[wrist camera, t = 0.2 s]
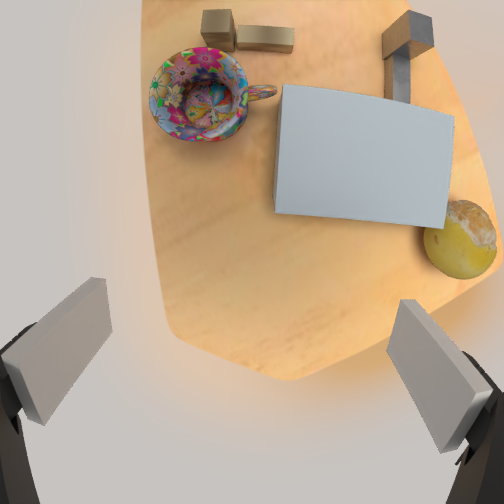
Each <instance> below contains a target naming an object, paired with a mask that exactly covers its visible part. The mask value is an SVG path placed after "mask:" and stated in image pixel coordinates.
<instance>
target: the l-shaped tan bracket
mask: <svg viewBox="0 0 504 504" xmlns="http://www.w3.org/2000/svg"><path fill="white" fill-rule="evenodd" d="M200 33H201V35H202V37H203V38H204V40H205V42H206V44H207V46H208V48H214V49H217V50H220V51H223V52H234V51H235V39H236V29H235V25H234V20H233V16H232V11H231V9H222V10H203V15H202V23H201V32H200ZM293 43H294V28H285V27H272V26H252V25H238V34H237V45H238V50H254V51H272V52H285V53H291V52H292V49H293Z"/></svg>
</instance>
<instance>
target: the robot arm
mask: <svg viewBox="0 0 504 504" xmlns="http://www.w3.org/2000/svg"><path fill="white" fill-rule="evenodd" d="M111 333H112V326H111V319H110V311H109V304H108V296H107V287H106V279H101V278H94V277H91V278H90V279H89V280H87V281H86V282H85V283H84V284H82V285H81V286H80V287H79V288H78V289H76V290H75V291H74V292H73V293H71V294H70V295H69V296H68V297H66V298H65V299H64V300H63V301H62V302H61V303H59V304H58V305H57V306H56V307H55V308H53V309H52V310H51V311H50V312H49V313H48V314H46V315H45V316H44V317H43V318H42V319H41V320H39V321H38V322H36V323H34V324H32V325H29V326H27V327H26V328H24V329H23V330H22V331H21V332H20V333H19V334H18V336H15V337H14V338H13V339H12V341H10V342H9V343H7V344H6V345H5V346H4V347H3V348H2V349H1V350H0V504H40V502H39V498H38V495H37V492H36V488H35V485H34V481H33V477H32V474H31V469H30V466H29V461H28V457H27V452H26V447H25V442H24V437H23V431H22V425H21V420H20V418H19V415H18V412H19V411H20V409H21V408H23V410H24V412H25V414H26V416H27V418H28V419H29V420H31V421H34V422H36V423H39V424H41V425H43V426H45V424H46V423H47V421H48V420H49V418H50V417H51V415H52V414H53V413H54V411H55V410H56V408H57V407H58V405H59V404H60V403H61V401H62V400H63V398H64V397H65V395H66V394H67V392H68V391H69V390H70V388H71V387H72V386H73V384H74V383H75V381H76V380H77V379H78V377H79V376H80V375H81V373H82V372H83V370H84V369H85V368H86V366H87V365H88V364H89V362H90V361H91V360H92V358H93V357H94V356H95V354H96V353H97V352H98V350H99V349H100V348H101V346H102V345H103V344H104V342H105V341H106V340H107V338H108V337H109V336H110V334H111ZM387 353H388V355H389V356H390V358H391V360H392V362H393V364H394V365H395V367H396V369H397V371H398V373H399V374H400V376H401V378H402V380H403V382H404V384H405V386H406V387H407V389H408V391H409V393H410V395H411V397H412V399H413V401H414V402H415V404H416V406H417V408H418V410H419V412H420V414H421V416H422V418H423V420H424V422H425V423H426V426H427V428H428V430H429V431H430V434H431V436H432V438H433V440H434V442H435V444H436V446H437V448H438V450H439V452H440V453H445V452H448V451H452V450H456V449H458V447H459V446H460V444H461V443H462V441H463V440H464V438H466V440H467V441H468V443H469V445H468V446H467V448H466V449H465V451H464V452H463V454H462V455H461V456H460V457H459V459H458V460H457V462H456V463H455V465H458V464H459V462H460V461H461V464H460V467H459V470H458V473H457V475H456V478H455V481H454V484H453V486H452V489H451V491H450V494H449V496H448V499H447V501H446V504H504V392H503V393H502V392H501V390H500V389H499V388H498V387H497V385H496V384H495V383H494V382H493V381H492V379H491V378H490V377H489V376H488V375H487V373H485V371H484V370H483V369H482V367H480V365H479V364H478V363H477V361H476V360H475V359H474V358H473V357H472V356H470V355H469V354H467V353H466V352H464V351H461V350H460V349H459V348H458V347H457V346H456V344H455V343H454V342H453V341H452V340H451V339H450V337H449V336H448V335H447V334H446V333H445V332H444V331H443V330H442V329H441V327H440V326H439V325H438V324H437V323H436V322H435V321H434V320H433V318H432V317H431V316H430V315H429V314H428V313H427V312H426V311H425V310H424V309H423V308H422V307H421V306H420V304H419V303H418V302H417V301H416V300H410V299H401V300H400V304H399V308H398V312H397V316H396V319H395V323H394V327H393V330H392V334H391V337H390V341H389V344H388V347H387Z"/></svg>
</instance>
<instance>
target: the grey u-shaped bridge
mask: <svg viewBox="0 0 504 504" xmlns="http://www.w3.org/2000/svg"><path fill="white" fill-rule="evenodd" d="M453 139H454V116H451V115H448V114H445V113H441V112H438V111H434V110H430V109H427V108H423V107H419V106H415V105H411V104H407V103H403V102H398V101H394V100H389V99H384V98H379V97H374V96H369V95H364V94H358V93H352V92H346V91H339V90H332V89H325V88H317V87H309V86H300V85H289V84H283V87H282V94H281V97H280V100H279V108H278V124H277V141H276V156H275V172H274V186H273V201H274V205H275V209H274V211H275V213H281V214H295V215H308V216H320V217H332V218H344V219H355V220H365V221H375V222H385V223H395V224H404V225H413V226H422V227H431V228H439V229H444V223H445V216H446V210H447V203H448V195H449V187H450V178H451V167H452V155H453Z"/></svg>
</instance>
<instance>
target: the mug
mask: <svg viewBox="0 0 504 504" xmlns="http://www.w3.org/2000/svg"><path fill="white" fill-rule="evenodd" d="M258 92H262V93H258ZM251 93H257V94H253V95H248V94H251ZM276 93H277V88H276V87H275V86H273V85H255V86H249V87H248V82H247V78H246V75H245V73H244V71H243V69H242V67H241V66H240V65H239V63H238V62H237V61H236V60H235V59H234V58H233V57H231V56H230V55H228V54H227V53H225V52H223V51H220V50H217V49H214V48H207V47H198V48H191V49H187V50H184V51H182V52H179V53H177V54H176V55H174V56H172V57H171V58H170V59H168V60H167V61H166V62H165V63H164V64H163V65H162V66H161V67H160V68H159V70H158V71H157V73H156V74H155V76H154V78H153V81H152V83H151V87H150V92H149V103H150V109H151V112H152V115H153V117H154V119H155V120H156V122H157V123H158V125H159V126H160V127H161V128H162V129H163V130H164V131H165V132H167V133H168V134H170V135H172V136H174V137H176V138H179V139H182V140H186V141H203V140H204V141H219V140H223V139H226V138H228V137H230V136H231V135H233V134H234V133H236V132H237V131H238V130H239V129H240V127H241V126H242V125H243V123H244V121H245V119H246V117H247V113H248V102H250V101H255V100H260V99H264V98H268V97H271V96H274V95H275V94H276Z"/></svg>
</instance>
